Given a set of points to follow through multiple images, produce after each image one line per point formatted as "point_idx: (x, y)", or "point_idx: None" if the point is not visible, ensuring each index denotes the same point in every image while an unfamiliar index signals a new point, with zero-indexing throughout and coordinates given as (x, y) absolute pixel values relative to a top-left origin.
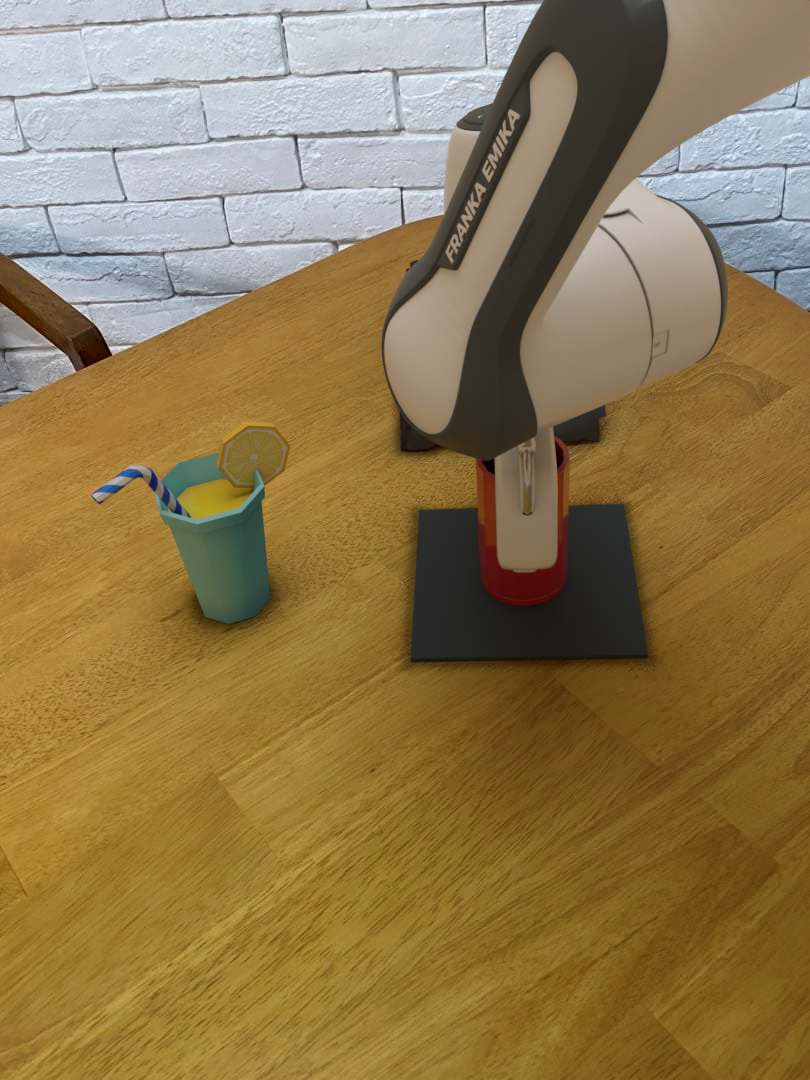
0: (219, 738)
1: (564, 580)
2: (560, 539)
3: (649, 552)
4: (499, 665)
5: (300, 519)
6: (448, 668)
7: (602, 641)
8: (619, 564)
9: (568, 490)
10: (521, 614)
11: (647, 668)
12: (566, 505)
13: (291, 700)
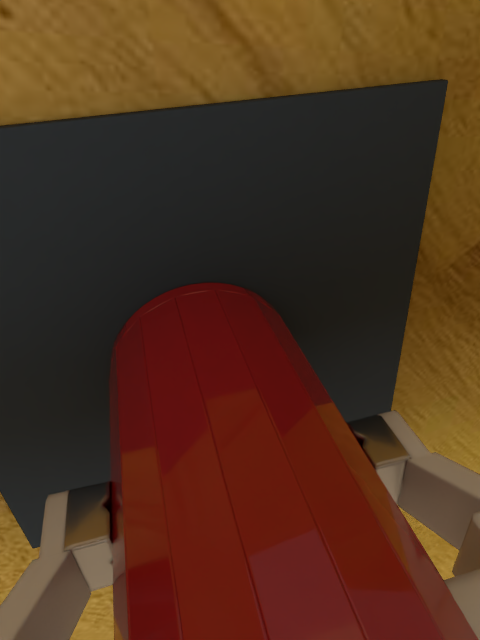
0: (448, 551)
1: (229, 290)
2: (310, 393)
3: (41, 56)
4: (405, 350)
5: (96, 637)
6: (398, 409)
7: (392, 188)
8: (133, 157)
9: (324, 521)
10: (306, 344)
11: (469, 80)
12: (314, 469)
13: (415, 526)
